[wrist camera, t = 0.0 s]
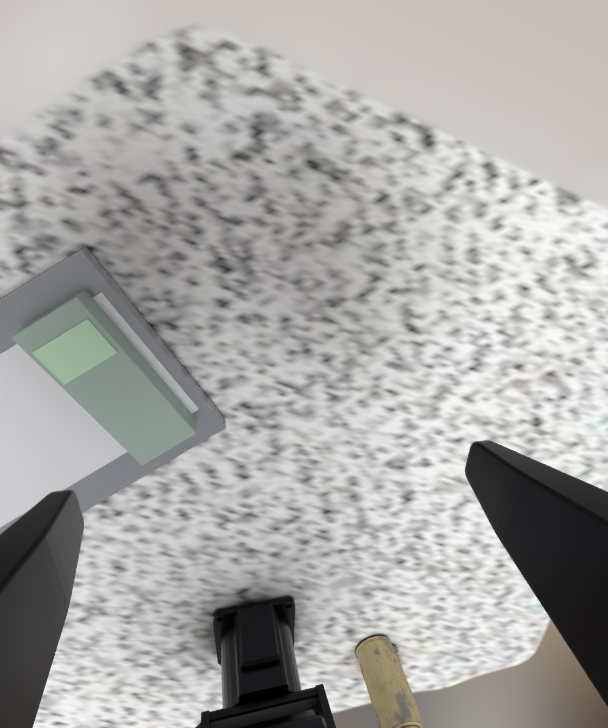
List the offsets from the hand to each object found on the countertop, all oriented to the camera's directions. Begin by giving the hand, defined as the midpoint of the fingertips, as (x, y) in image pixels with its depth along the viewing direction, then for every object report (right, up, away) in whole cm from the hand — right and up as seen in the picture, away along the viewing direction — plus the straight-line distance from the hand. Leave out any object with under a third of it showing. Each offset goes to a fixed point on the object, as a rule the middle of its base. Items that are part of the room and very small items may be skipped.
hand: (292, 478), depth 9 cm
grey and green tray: (-16, -1, +13) cm, 21 cm away
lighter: (+8, -26, +31) cm, 41 cm away
